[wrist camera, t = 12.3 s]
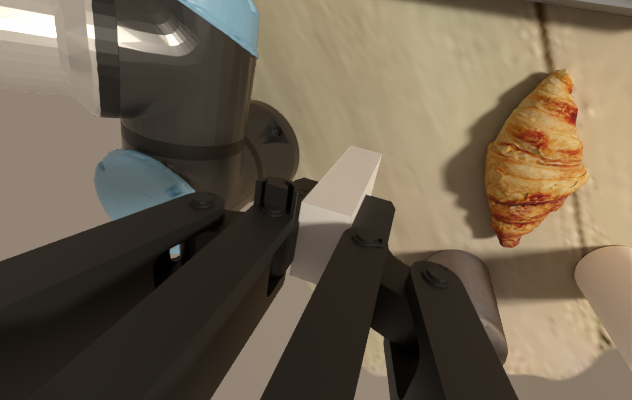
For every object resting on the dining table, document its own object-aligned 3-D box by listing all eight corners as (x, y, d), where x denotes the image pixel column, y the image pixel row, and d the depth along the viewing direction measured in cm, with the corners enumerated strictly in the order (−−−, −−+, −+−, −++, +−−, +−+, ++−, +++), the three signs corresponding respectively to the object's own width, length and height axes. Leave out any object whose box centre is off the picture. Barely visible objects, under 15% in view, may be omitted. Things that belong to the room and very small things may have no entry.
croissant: (518, 67, 39) (494, 67, 34) (630, 70, 32) (621, 71, 27) (479, 224, 47) (455, 243, 42) (562, 252, 41) (545, 279, 36)
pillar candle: (500, 295, 47) (526, 385, 34) (434, 309, 52) (435, 394, 39) (473, 239, 45) (490, 313, 32) (408, 259, 50) (399, 331, 37)
